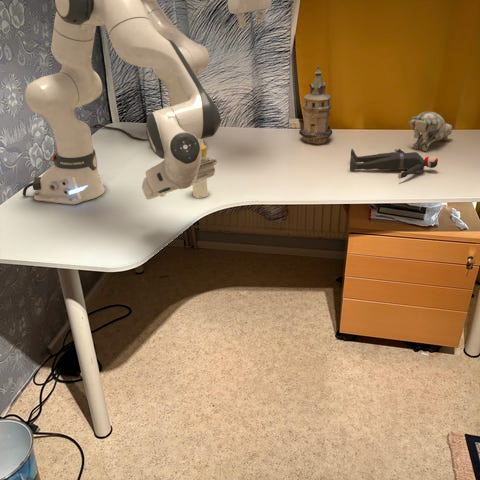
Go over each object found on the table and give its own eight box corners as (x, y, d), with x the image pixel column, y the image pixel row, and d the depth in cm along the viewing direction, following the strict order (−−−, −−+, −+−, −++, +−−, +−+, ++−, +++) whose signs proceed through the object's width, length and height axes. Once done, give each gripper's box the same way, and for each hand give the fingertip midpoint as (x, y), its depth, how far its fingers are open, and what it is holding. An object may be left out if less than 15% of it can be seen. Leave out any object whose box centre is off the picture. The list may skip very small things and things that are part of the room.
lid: (196, 158, 165) (196, 151, 164) (185, 153, 168) (185, 146, 167) (210, 154, 168) (209, 147, 167) (199, 149, 172) (199, 142, 170)
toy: (351, 141, 203) (434, 141, 197) (350, 156, 206) (432, 157, 200) (349, 166, 181) (443, 167, 175) (349, 183, 184) (441, 185, 178)
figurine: (439, 162, 206) (463, 135, 215) (427, 119, 197) (453, 93, 206) (416, 162, 213) (441, 135, 222) (404, 120, 204) (430, 94, 213)
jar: (199, 199, 172) (196, 152, 164) (190, 194, 175) (187, 148, 168) (210, 195, 175) (208, 148, 167) (201, 190, 178) (199, 144, 170)
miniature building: (320, 132, 228) (325, 59, 214) (338, 142, 217) (344, 66, 203) (293, 137, 224) (296, 63, 209) (310, 147, 213) (314, 69, 198)
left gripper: (212, 147, 141) (206, 166, 155) (139, 173, 136) (139, 190, 150) (222, 168, 140) (215, 185, 154) (148, 195, 135) (148, 210, 149)
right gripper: (260, -24, 177) (260, 21, 184) (223, -20, 162) (224, 29, 169) (276, -23, 174) (275, 22, 180) (240, -19, 159) (241, 30, 166)
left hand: (177, 188), depth 152 cm, fingers open, 8 cm apart
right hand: (250, 25), depth 175 cm, fingers open, 8 cm apart
